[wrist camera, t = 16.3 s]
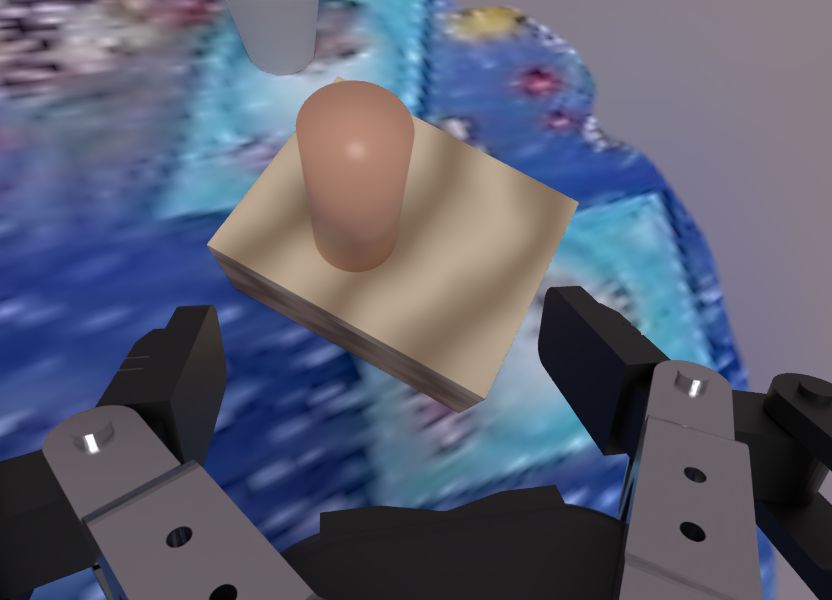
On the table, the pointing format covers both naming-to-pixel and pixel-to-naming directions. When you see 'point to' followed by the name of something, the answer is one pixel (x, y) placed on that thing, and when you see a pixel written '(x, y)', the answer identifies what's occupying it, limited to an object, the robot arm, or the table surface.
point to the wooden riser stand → (408, 265)
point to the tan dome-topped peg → (355, 170)
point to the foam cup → (277, 32)
